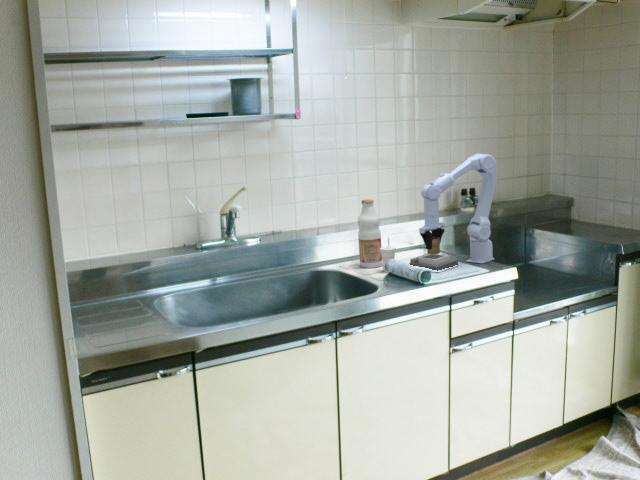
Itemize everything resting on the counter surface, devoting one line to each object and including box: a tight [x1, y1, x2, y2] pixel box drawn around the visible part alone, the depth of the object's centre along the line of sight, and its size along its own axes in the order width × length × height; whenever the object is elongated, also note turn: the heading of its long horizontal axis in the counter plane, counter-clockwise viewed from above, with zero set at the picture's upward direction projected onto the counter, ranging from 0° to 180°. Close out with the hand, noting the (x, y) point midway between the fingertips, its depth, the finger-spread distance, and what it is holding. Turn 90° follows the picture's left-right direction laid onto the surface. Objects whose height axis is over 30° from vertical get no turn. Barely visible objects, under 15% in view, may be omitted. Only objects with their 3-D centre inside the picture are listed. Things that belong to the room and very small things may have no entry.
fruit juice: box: [357, 199, 383, 269], centre depth 287 cm, size 9×9×28 cm
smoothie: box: [380, 236, 397, 273], centre depth 276 cm, size 6×6×14 cm
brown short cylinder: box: [426, 237, 441, 254], centre depth 277 cm, size 5×5×6 cm
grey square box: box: [408, 253, 459, 271], centre depth 278 cm, size 14×14×4 cm
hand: (433, 247), depth 277 cm, fingers closed on brown short cylinder, 5 cm apart
